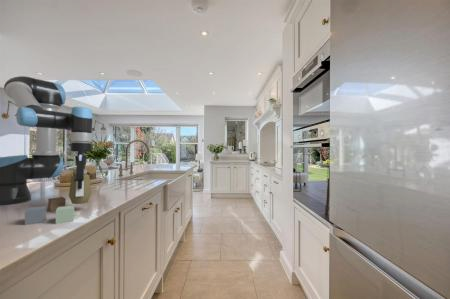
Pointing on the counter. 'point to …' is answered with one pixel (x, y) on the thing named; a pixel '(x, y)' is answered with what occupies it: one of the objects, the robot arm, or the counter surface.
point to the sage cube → (64, 214)
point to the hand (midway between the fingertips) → (80, 194)
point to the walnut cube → (56, 203)
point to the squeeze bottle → (86, 189)
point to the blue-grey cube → (35, 215)
